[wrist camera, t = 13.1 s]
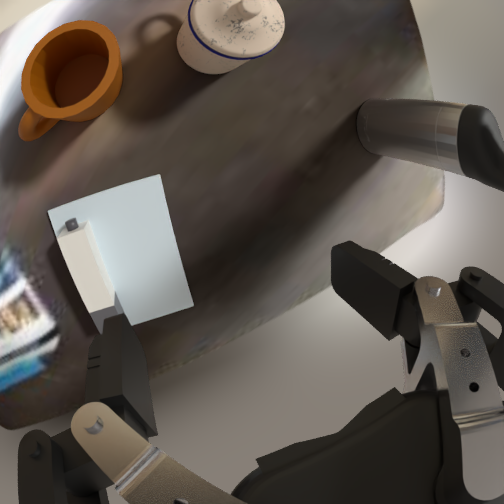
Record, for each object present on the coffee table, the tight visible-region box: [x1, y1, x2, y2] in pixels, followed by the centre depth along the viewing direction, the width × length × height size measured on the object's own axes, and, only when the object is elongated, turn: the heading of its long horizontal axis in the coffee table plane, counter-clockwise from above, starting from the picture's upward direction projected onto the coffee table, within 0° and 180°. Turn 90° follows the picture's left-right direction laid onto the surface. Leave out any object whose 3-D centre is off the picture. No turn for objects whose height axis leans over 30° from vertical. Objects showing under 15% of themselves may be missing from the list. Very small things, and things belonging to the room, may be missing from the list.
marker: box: [57, 218, 125, 334], centre depth 29 cm, size 14×3×3 cm, turn 8°
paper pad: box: [48, 174, 194, 326], centre depth 32 cm, size 14×18×1 cm
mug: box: [18, 20, 123, 141], centre depth 18 cm, size 9×12×9 cm
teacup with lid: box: [177, 0, 285, 74], centre depth 20 cm, size 12×9×12 cm
